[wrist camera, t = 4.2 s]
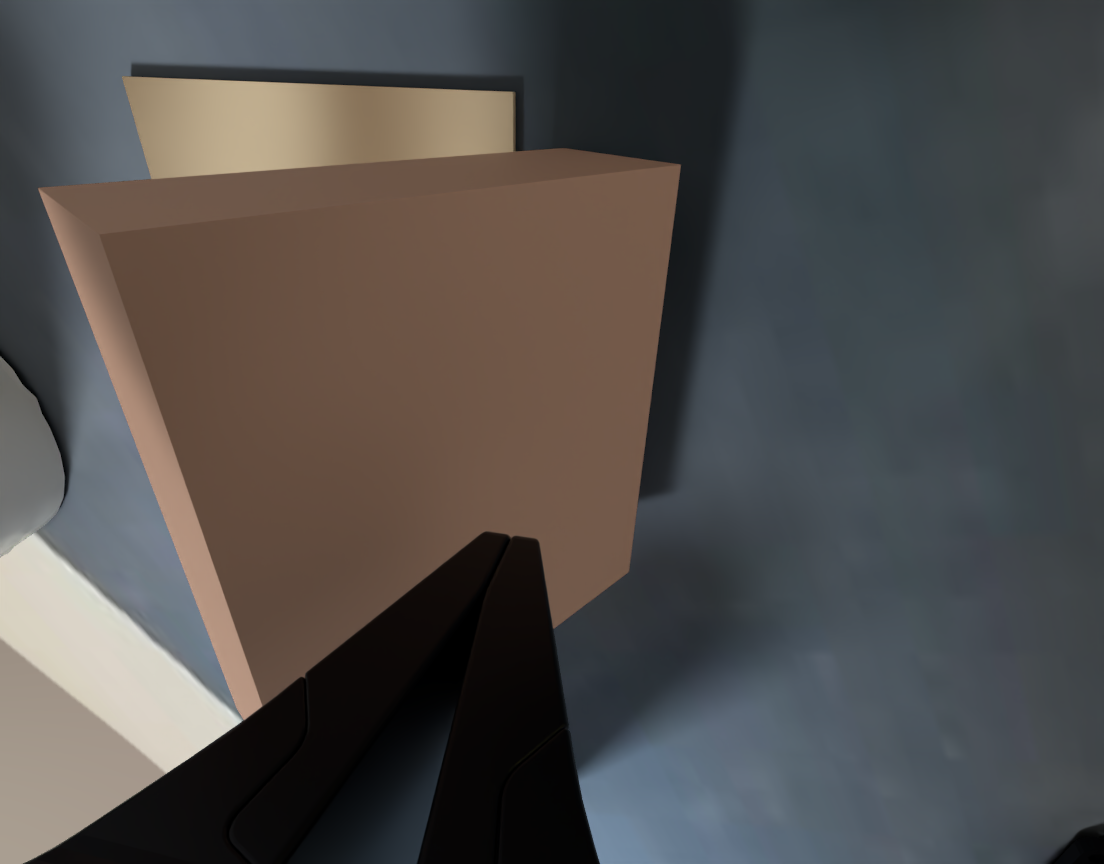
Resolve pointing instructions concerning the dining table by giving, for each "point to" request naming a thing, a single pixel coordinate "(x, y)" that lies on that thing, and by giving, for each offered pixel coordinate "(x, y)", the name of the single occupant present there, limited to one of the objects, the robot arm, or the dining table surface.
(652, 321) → the block
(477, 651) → the robot arm
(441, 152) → the tan wooden flat board
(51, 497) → the toilet tissue
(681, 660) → the dining table surface
